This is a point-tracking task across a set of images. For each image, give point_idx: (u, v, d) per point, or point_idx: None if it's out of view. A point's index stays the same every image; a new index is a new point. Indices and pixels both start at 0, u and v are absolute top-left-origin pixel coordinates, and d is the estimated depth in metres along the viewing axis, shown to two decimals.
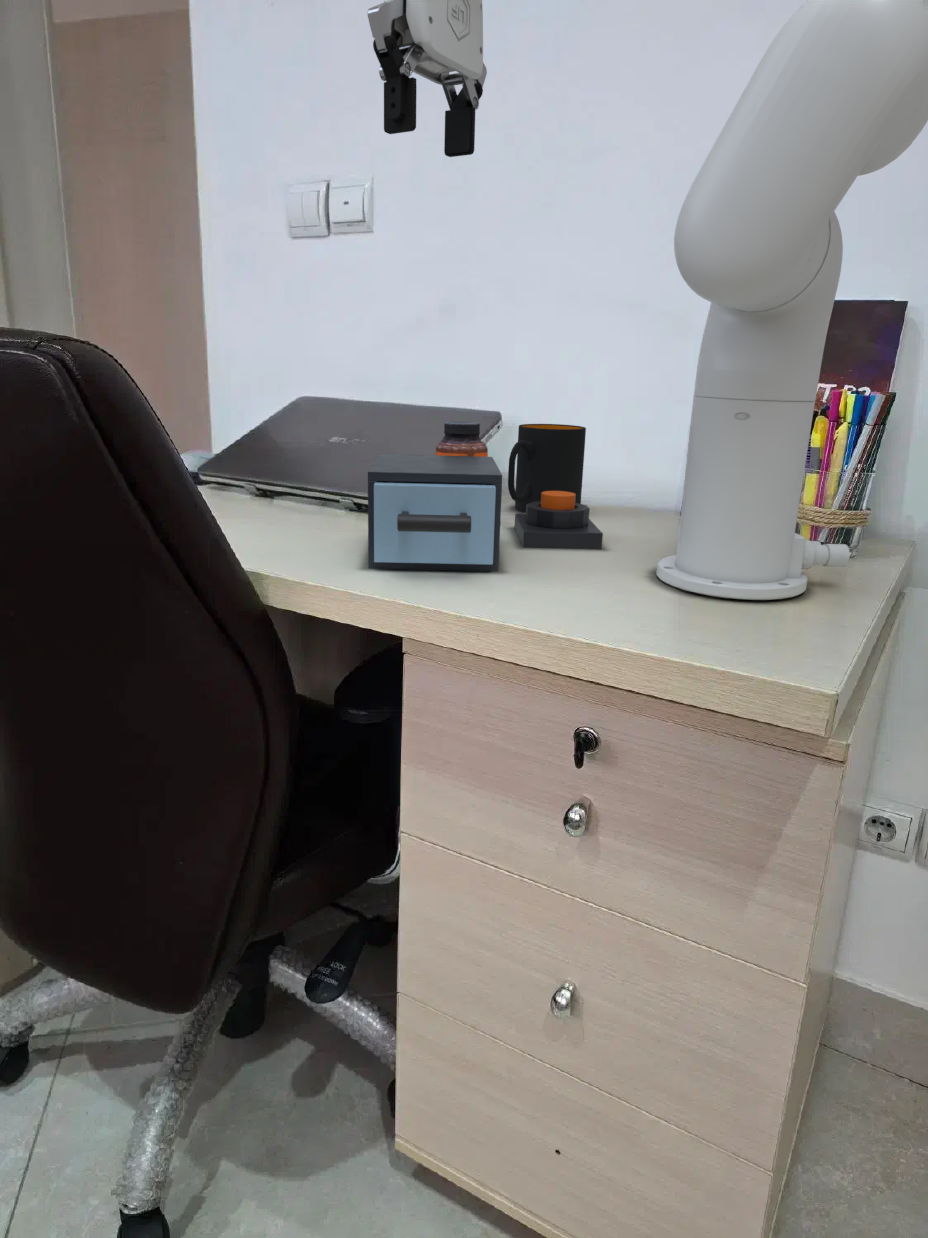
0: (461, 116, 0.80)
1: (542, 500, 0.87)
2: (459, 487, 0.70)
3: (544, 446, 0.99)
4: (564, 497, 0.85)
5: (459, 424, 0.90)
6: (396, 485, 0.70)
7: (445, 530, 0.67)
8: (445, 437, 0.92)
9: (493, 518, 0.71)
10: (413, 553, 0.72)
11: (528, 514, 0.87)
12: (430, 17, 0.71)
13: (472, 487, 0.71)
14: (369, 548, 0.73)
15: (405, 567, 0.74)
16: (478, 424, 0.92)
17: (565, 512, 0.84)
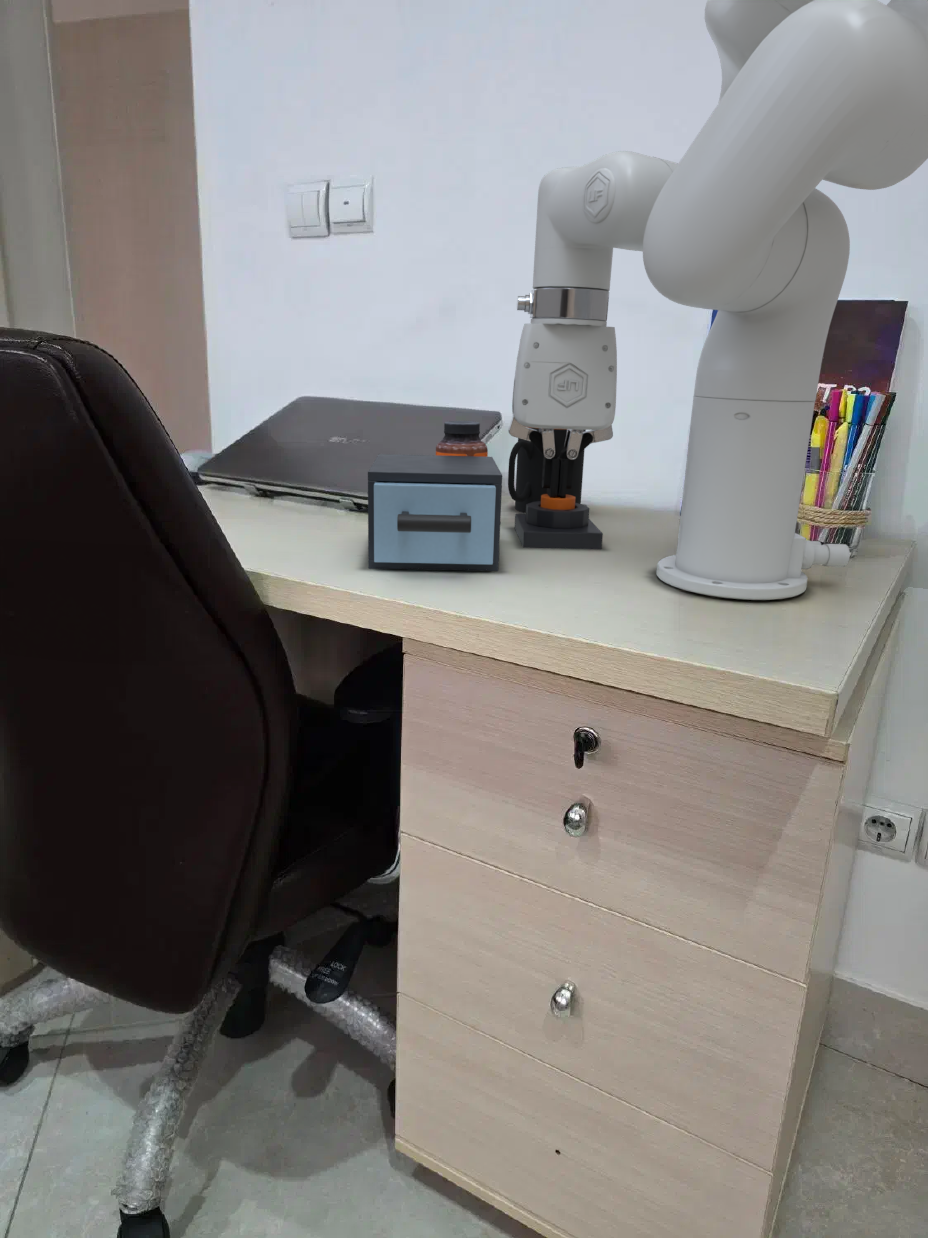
0: (559, 465, 0.86)
1: (542, 503, 0.87)
2: (459, 487, 0.70)
3: None
4: (564, 500, 0.85)
5: (459, 424, 0.90)
6: (396, 485, 0.70)
7: (445, 530, 0.67)
8: (445, 437, 0.92)
9: (493, 518, 0.71)
10: (413, 553, 0.72)
11: (528, 514, 0.87)
12: (525, 400, 0.82)
13: (472, 487, 0.71)
14: (369, 548, 0.73)
15: (405, 567, 0.74)
16: (478, 424, 0.92)
17: (565, 512, 0.84)
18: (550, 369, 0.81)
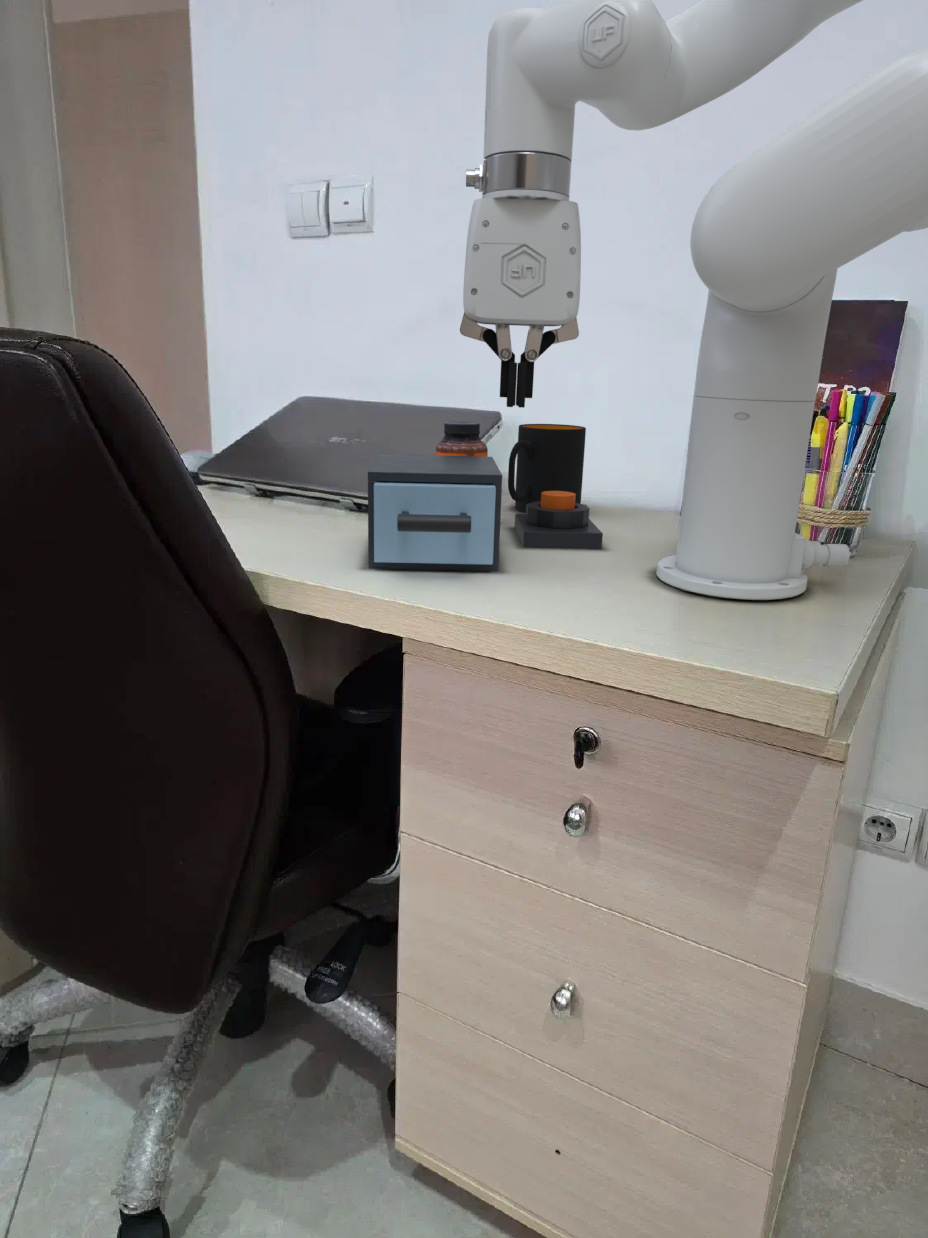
0: None
1: (542, 500, 0.87)
2: (459, 487, 0.70)
3: (544, 446, 0.99)
4: (564, 497, 0.85)
5: (459, 424, 0.90)
6: (396, 485, 0.70)
7: (445, 530, 0.67)
8: (445, 437, 0.92)
9: (493, 518, 0.71)
10: (413, 553, 0.72)
11: (528, 514, 0.87)
12: (475, 289, 0.71)
13: (472, 487, 0.71)
14: (369, 548, 0.73)
15: (405, 567, 0.74)
16: (478, 424, 0.92)
17: (565, 512, 0.84)
18: (502, 252, 0.70)
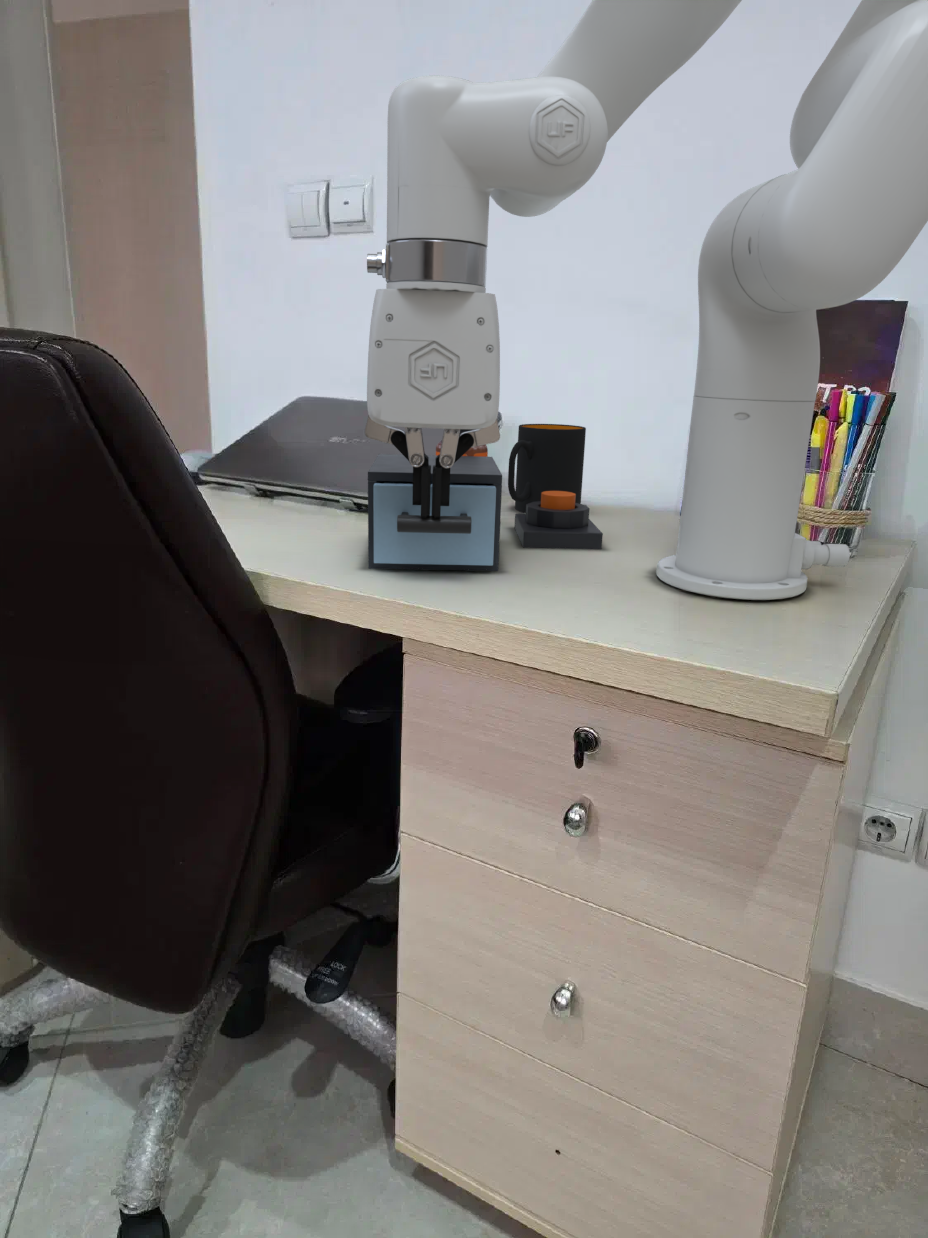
0: None
1: (542, 500, 0.87)
2: (459, 488, 0.70)
3: (544, 446, 0.99)
4: (564, 497, 0.85)
5: None
6: (396, 486, 0.70)
7: (445, 531, 0.67)
8: None
9: (493, 519, 0.71)
10: (413, 554, 0.72)
11: (528, 514, 0.87)
12: (379, 390, 0.62)
13: (472, 488, 0.70)
14: (369, 548, 0.73)
15: (405, 567, 0.74)
16: None
17: (565, 512, 0.84)
18: (409, 349, 0.61)
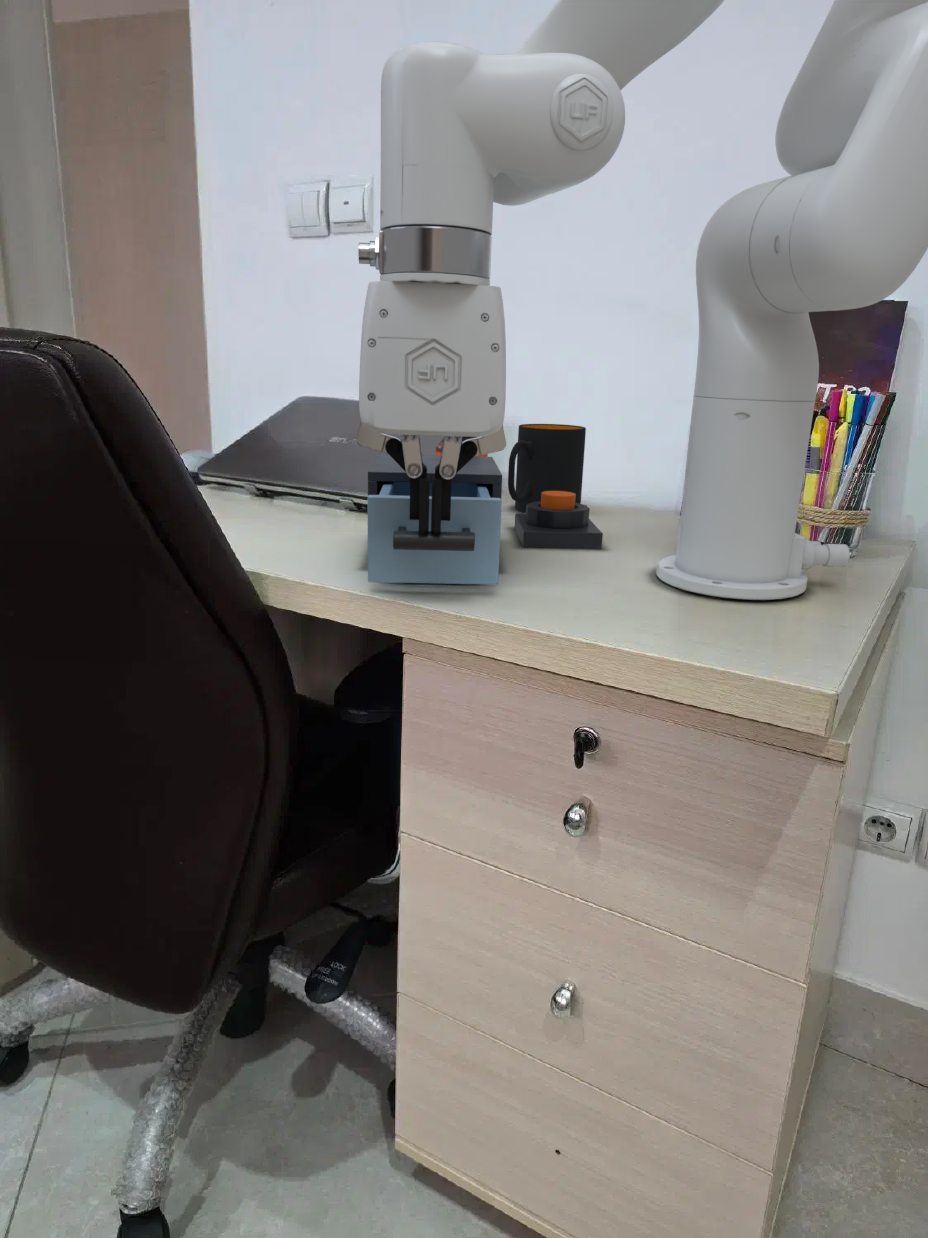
0: None
1: (542, 500, 0.87)
2: (461, 500, 0.64)
3: (544, 446, 0.99)
4: (564, 497, 0.85)
5: None
6: (392, 498, 0.64)
7: (446, 548, 0.61)
8: None
9: (498, 534, 0.65)
10: (411, 572, 0.66)
11: (528, 514, 0.87)
12: (372, 393, 0.56)
13: (475, 500, 0.64)
14: None
15: None
16: None
17: (565, 512, 0.84)
18: (405, 348, 0.55)
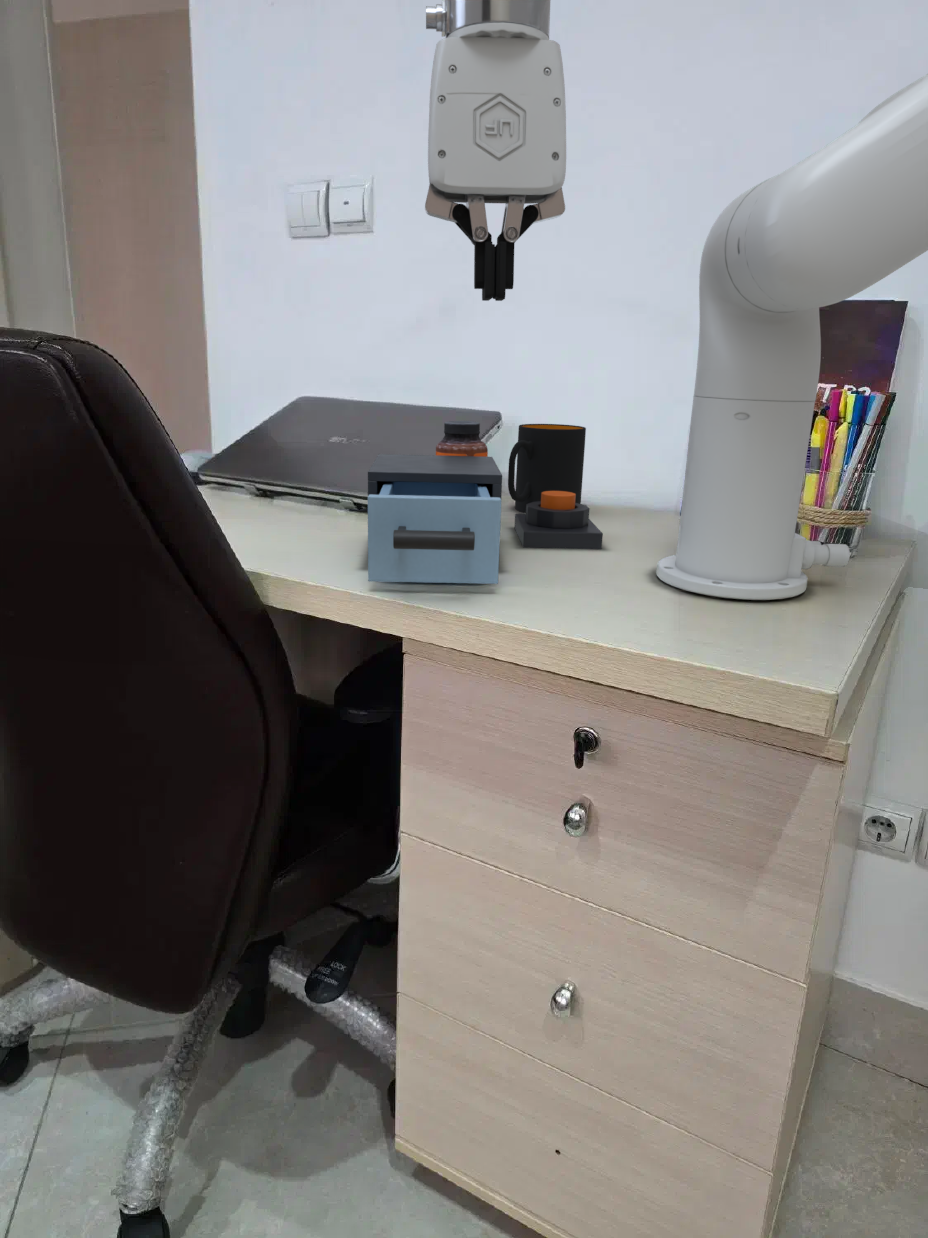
0: (495, 254, 0.64)
1: (542, 500, 0.87)
2: (461, 500, 0.64)
3: (544, 446, 0.99)
4: (564, 497, 0.85)
5: (459, 424, 0.90)
6: (392, 497, 0.64)
7: (446, 548, 0.61)
8: (445, 437, 0.92)
9: (498, 533, 0.65)
10: (411, 571, 0.66)
11: (528, 514, 0.87)
12: (442, 151, 0.60)
13: (475, 500, 0.64)
14: None
15: None
16: (478, 424, 0.92)
17: (565, 512, 0.84)
18: (474, 103, 0.59)
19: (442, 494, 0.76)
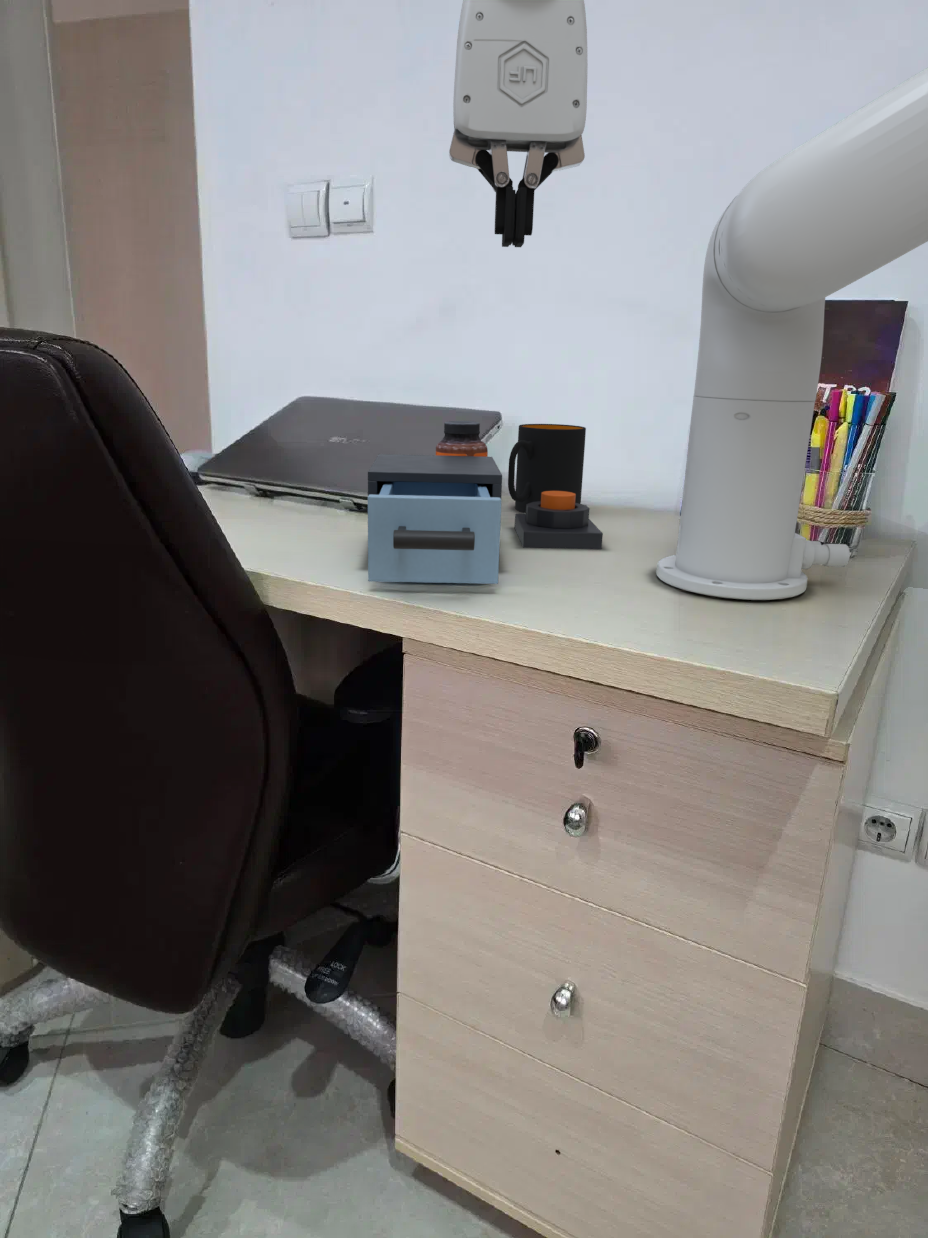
0: (515, 200, 0.66)
1: (542, 500, 0.87)
2: (461, 500, 0.64)
3: (544, 446, 0.99)
4: (564, 497, 0.85)
5: (459, 424, 0.90)
6: (392, 497, 0.64)
7: (446, 548, 0.61)
8: (445, 437, 0.92)
9: (498, 533, 0.65)
10: (411, 571, 0.66)
11: (528, 514, 0.87)
12: (467, 96, 0.62)
13: (475, 500, 0.64)
14: None
15: None
16: (478, 424, 0.92)
17: (565, 512, 0.84)
18: (499, 50, 0.61)
19: (442, 494, 0.76)
